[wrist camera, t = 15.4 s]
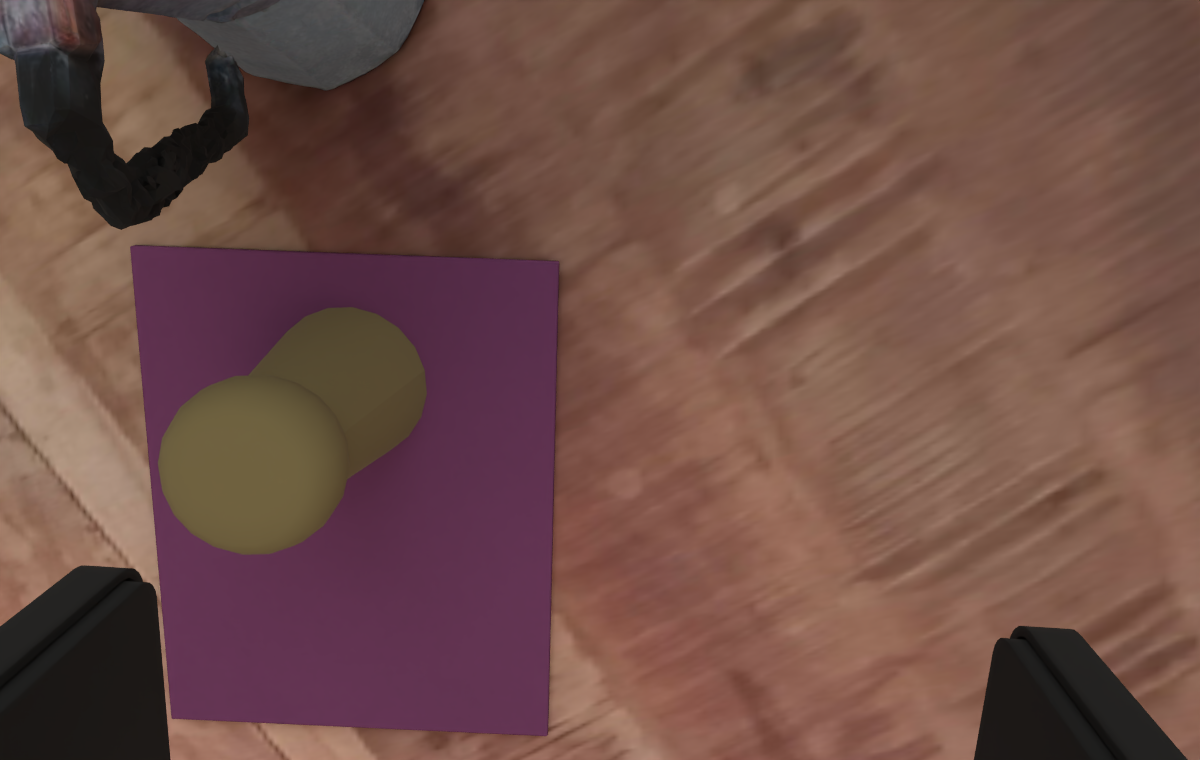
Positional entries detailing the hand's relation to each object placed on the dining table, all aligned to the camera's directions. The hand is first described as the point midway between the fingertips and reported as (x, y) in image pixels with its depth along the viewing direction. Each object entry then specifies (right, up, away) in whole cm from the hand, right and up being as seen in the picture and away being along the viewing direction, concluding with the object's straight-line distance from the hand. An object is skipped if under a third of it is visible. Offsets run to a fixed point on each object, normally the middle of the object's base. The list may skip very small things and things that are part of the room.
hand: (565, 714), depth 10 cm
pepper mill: (-9, +4, +26) cm, 28 cm away
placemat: (-9, -1, +27) cm, 29 cm away
